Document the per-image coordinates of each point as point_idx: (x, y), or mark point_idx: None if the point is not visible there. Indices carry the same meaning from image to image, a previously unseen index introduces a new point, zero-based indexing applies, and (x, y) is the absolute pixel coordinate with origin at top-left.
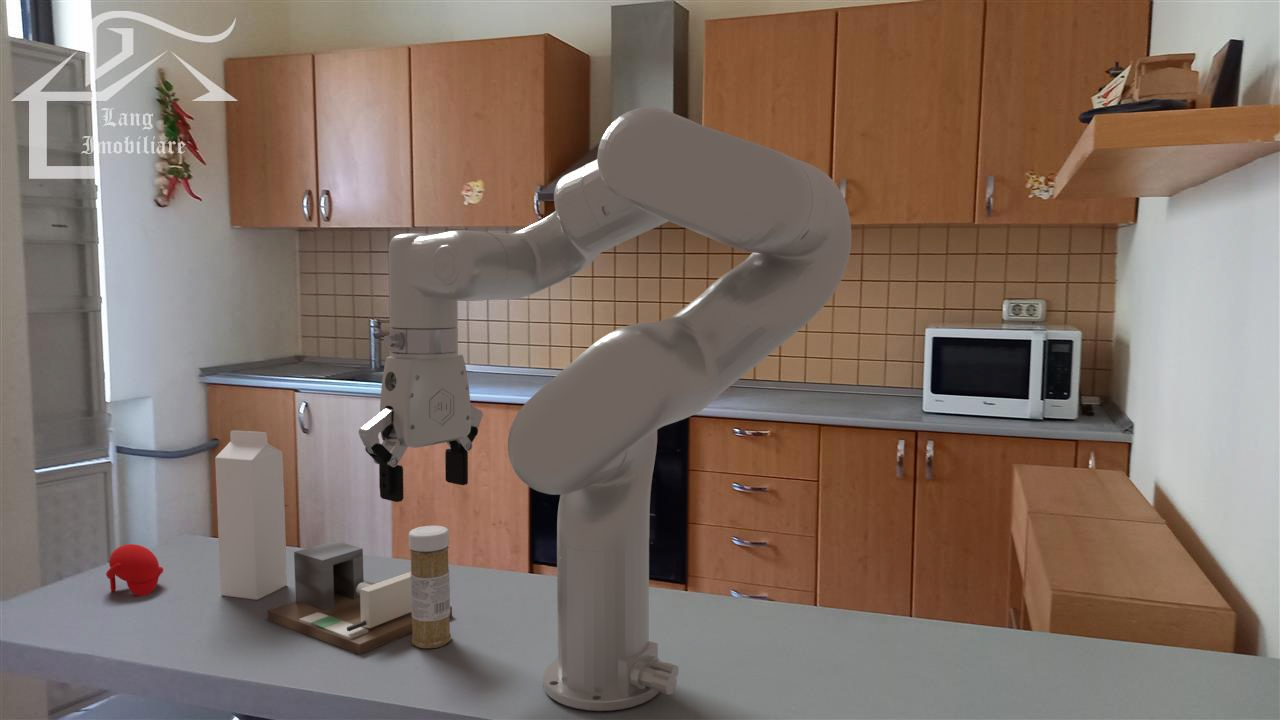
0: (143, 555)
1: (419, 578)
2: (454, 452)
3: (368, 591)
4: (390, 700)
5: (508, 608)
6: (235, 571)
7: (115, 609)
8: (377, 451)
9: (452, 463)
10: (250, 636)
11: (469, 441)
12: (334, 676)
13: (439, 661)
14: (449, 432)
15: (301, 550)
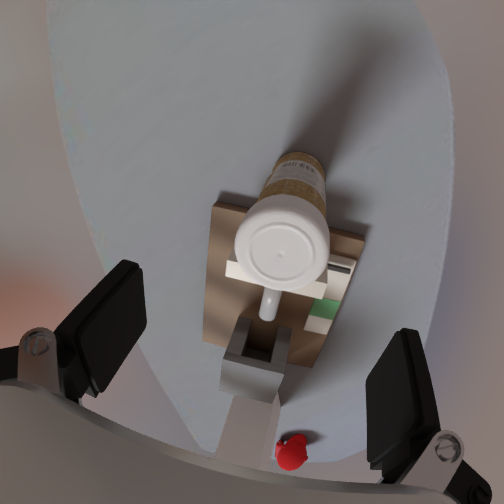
0: (290, 459)
1: (325, 212)
2: (89, 368)
3: (326, 284)
4: (449, 134)
5: (161, 151)
6: (275, 418)
7: (329, 433)
8: (488, 488)
9: (113, 345)
10: (351, 351)
11: (22, 353)
12: (418, 227)
13: (345, 132)
14: (127, 488)
15: (264, 401)
